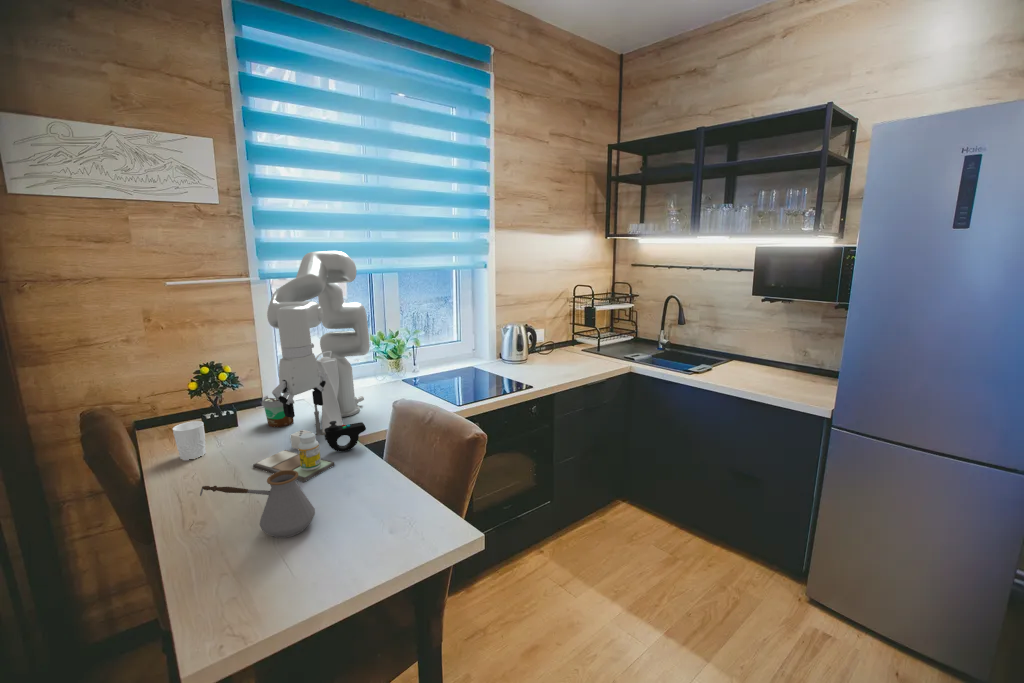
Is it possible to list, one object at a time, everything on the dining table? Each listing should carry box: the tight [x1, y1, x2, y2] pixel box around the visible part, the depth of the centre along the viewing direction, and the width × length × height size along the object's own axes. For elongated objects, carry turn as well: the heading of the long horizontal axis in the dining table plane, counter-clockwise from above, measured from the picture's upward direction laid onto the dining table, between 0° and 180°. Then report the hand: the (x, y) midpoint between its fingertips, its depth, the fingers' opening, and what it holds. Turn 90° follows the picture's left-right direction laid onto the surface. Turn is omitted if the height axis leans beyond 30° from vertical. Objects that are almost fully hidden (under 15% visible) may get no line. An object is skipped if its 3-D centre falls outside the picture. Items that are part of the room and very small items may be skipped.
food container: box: [261, 395, 295, 429], centre depth 169 cm, size 12×6×10 cm, turn 73°
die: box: [289, 429, 313, 451], centre depth 152 cm, size 4×4×5 cm
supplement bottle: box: [297, 432, 322, 471], centre depth 134 cm, size 5×5×10 cm
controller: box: [324, 421, 367, 453], centre depth 148 cm, size 4×12×10 cm, turn 116°
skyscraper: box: [313, 351, 344, 436], centre depth 162 cm, size 8×8×28 cm
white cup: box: [172, 420, 207, 461], centre depth 146 cm, size 8×8×10 cm
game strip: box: [252, 449, 336, 483], centre depth 138 cm, size 11×21×1 cm, turn 64°
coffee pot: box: [199, 470, 316, 539], centre depth 104 cm, size 21×12×15 cm, turn 121°
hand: (304, 410), depth 132 cm, fingers open, 9 cm apart
